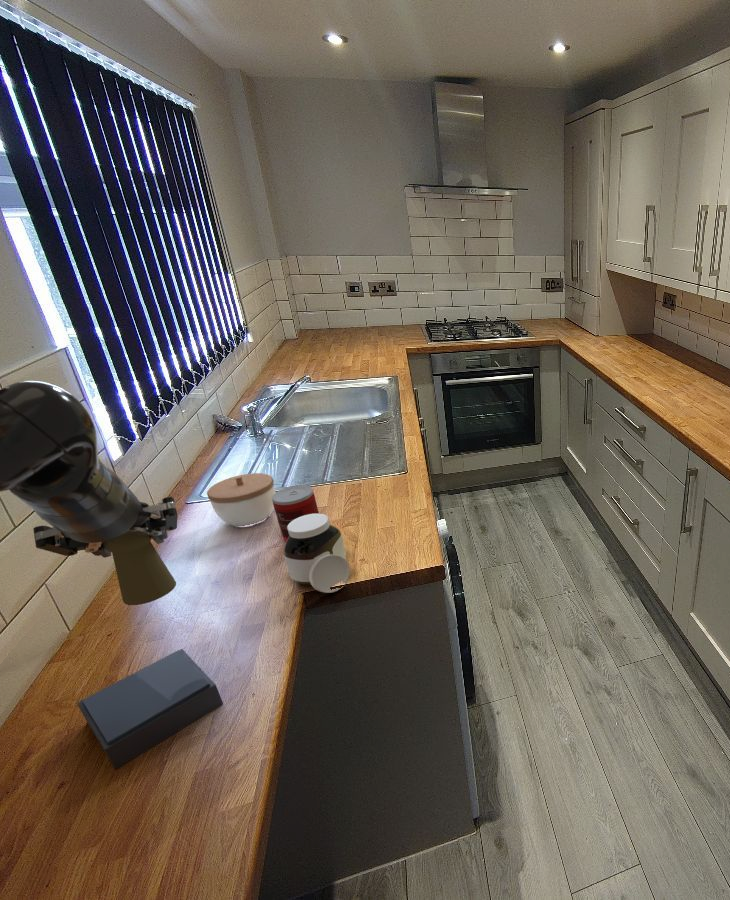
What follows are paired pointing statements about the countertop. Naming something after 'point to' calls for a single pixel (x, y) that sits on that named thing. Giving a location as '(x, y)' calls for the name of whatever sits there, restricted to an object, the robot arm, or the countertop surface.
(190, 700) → the rectangular box
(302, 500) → the canned food
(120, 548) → the cork
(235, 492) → the lidded bowl
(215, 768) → the countertop surface
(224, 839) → the countertop surface
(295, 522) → the spread jar
